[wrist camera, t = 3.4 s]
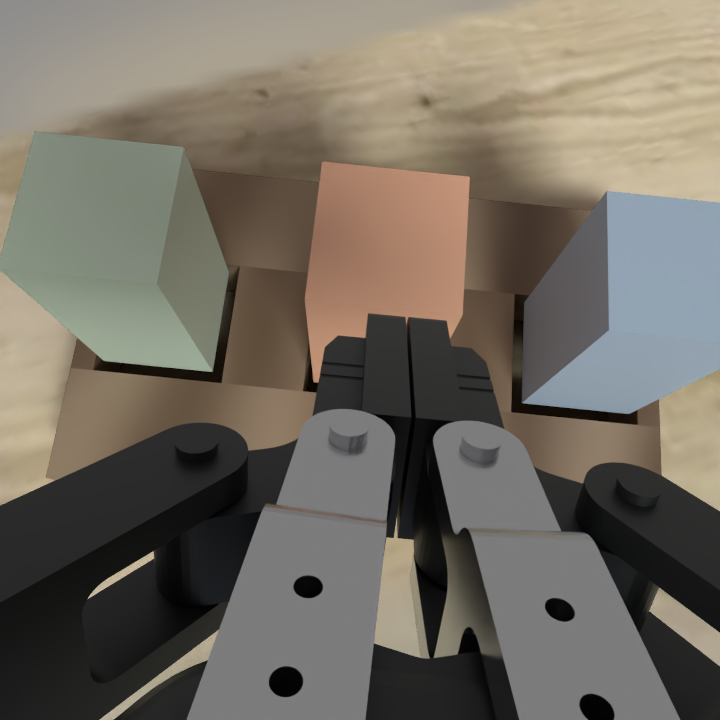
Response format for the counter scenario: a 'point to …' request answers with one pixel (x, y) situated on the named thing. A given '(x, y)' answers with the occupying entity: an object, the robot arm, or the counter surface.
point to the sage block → (119, 249)
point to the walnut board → (292, 349)
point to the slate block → (626, 307)
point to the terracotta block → (384, 250)
